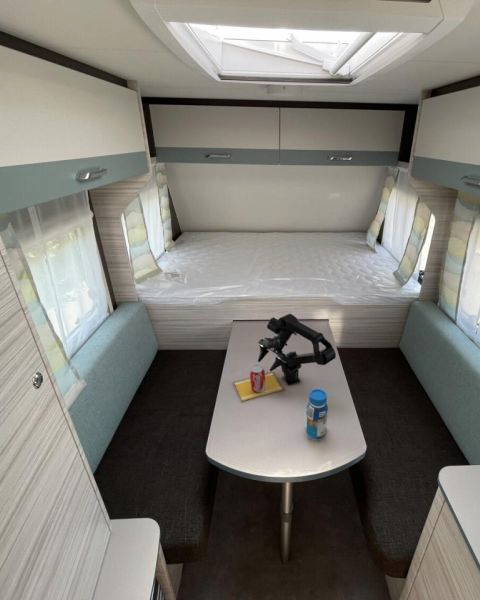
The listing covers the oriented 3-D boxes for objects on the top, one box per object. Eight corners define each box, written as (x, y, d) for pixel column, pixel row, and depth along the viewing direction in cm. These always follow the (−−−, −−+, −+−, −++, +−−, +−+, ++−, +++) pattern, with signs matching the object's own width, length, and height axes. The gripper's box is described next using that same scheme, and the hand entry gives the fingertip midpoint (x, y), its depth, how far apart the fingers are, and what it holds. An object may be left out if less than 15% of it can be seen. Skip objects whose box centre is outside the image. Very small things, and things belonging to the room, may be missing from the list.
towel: (271, 373, 168) (271, 372, 168) (282, 389, 157) (282, 388, 156) (234, 383, 161) (234, 382, 161) (242, 401, 149) (242, 400, 149)
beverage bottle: (305, 424, 136) (306, 386, 128) (325, 425, 136) (328, 387, 128) (305, 441, 129) (307, 401, 120) (327, 441, 128) (330, 402, 120)
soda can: (268, 389, 156) (267, 369, 151) (256, 396, 152) (255, 375, 147) (259, 382, 161) (258, 362, 156) (247, 388, 156) (246, 368, 152)
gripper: (260, 324, 156) (242, 351, 154) (286, 340, 143) (266, 370, 141) (273, 332, 164) (256, 359, 162) (298, 349, 151) (280, 377, 149)
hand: (264, 366), depth 153 cm, fingers open, 9 cm apart
